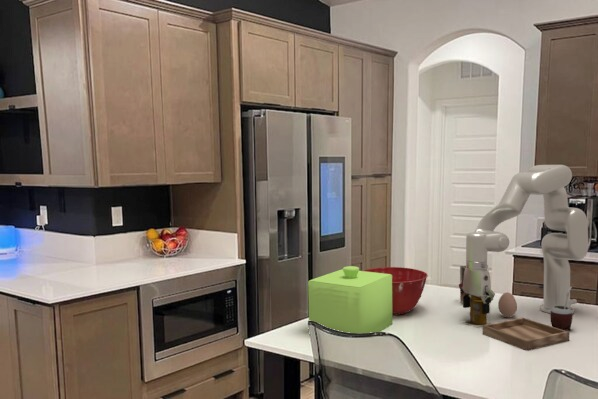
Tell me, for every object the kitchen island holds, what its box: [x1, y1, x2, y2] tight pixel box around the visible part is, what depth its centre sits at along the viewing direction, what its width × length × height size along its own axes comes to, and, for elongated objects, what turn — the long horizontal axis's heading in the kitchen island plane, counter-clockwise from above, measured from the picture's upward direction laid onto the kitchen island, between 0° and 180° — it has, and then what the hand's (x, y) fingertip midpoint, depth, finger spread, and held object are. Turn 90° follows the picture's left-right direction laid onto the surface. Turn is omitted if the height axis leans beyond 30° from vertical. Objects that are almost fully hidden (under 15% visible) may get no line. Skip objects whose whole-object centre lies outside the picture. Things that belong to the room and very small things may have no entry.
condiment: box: [461, 294, 492, 328], centre depth 194 cm, size 7×8×12 cm
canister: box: [307, 265, 393, 333], centre depth 191 cm, size 25×21×23 cm
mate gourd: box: [549, 286, 573, 332], centre depth 185 cm, size 8×8×15 cm
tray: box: [482, 317, 570, 351], centre depth 178 cm, size 20×19×3 cm
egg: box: [497, 292, 518, 318], centre depth 201 cm, size 7×7×10 cm
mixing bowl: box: [362, 266, 429, 316], centre depth 214 cm, size 28×28×16 cm
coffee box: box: [459, 265, 471, 305], centre depth 221 cm, size 9×6×16 cm
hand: (475, 310), depth 194 cm, fingers open, 9 cm apart
